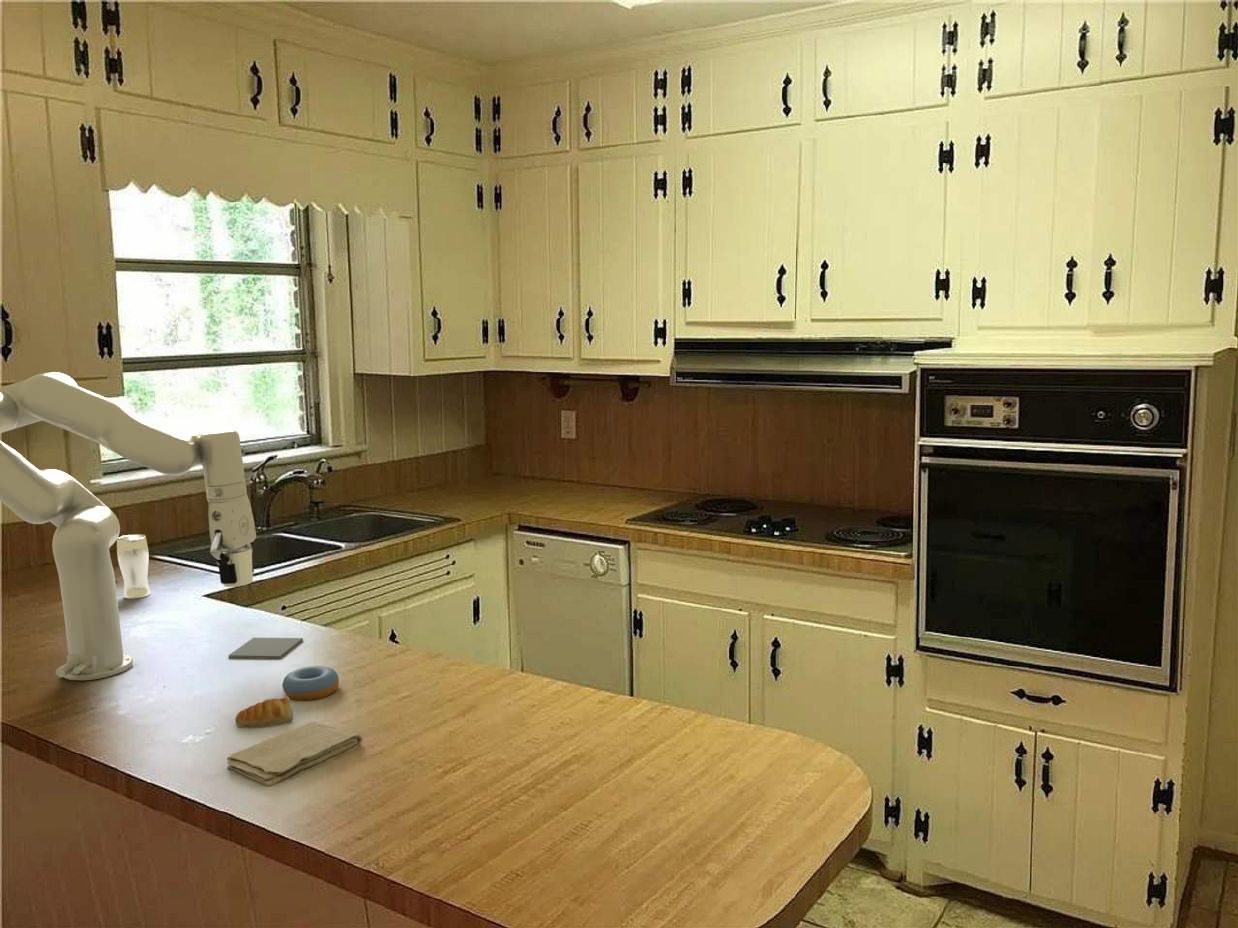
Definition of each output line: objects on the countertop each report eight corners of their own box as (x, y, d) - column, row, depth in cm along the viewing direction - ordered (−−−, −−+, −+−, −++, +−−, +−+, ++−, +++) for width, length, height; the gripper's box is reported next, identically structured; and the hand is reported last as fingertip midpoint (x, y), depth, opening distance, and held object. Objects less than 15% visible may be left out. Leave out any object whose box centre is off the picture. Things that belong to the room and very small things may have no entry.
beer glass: (158, 593, 255) (152, 535, 252) (132, 600, 249) (126, 541, 246) (142, 590, 258) (136, 533, 256) (116, 597, 253) (109, 538, 250)
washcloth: (221, 773, 155) (219, 754, 155) (315, 731, 170) (314, 713, 170) (270, 792, 149) (268, 772, 148) (364, 747, 163) (362, 729, 163)
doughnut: (270, 693, 185) (271, 670, 185) (316, 679, 193) (317, 656, 193) (304, 710, 180) (304, 686, 179) (349, 695, 188) (350, 671, 187)
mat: (280, 658, 204) (280, 655, 204) (228, 658, 206) (228, 655, 206) (302, 640, 215) (302, 637, 215) (253, 640, 216) (253, 637, 216)
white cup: (243, 587, 201) (239, 553, 200) (213, 587, 203) (208, 554, 201) (262, 578, 208) (258, 545, 206) (233, 578, 209) (228, 545, 208)
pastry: (236, 734, 169) (234, 712, 168) (235, 720, 175) (233, 699, 175) (295, 723, 173) (293, 702, 172) (291, 710, 179) (289, 689, 178)
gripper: (221, 500, 193) (233, 590, 196) (264, 482, 210) (274, 566, 213) (185, 501, 194) (197, 591, 197) (230, 484, 211) (241, 567, 214)
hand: (237, 577), depth 205 cm, fingers closed on white cup, 6 cm apart
